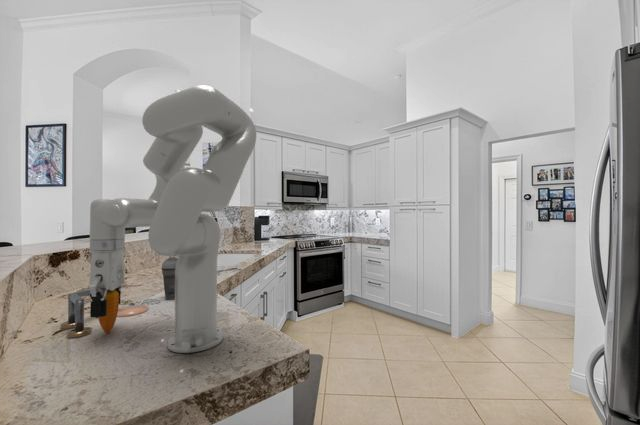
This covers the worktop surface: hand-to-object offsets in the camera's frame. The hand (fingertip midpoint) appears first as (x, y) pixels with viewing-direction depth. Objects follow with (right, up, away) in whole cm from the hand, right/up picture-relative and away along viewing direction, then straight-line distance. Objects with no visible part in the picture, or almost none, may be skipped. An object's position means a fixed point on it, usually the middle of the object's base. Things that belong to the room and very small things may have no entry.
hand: (106, 310), depth 76 cm
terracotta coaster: (-5, -7, +18) cm, 20 cm away
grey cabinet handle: (-12, -6, +6) cm, 15 cm away
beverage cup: (0, -7, +33) cm, 34 cm away
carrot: (+1, -6, 0) cm, 6 cm away
